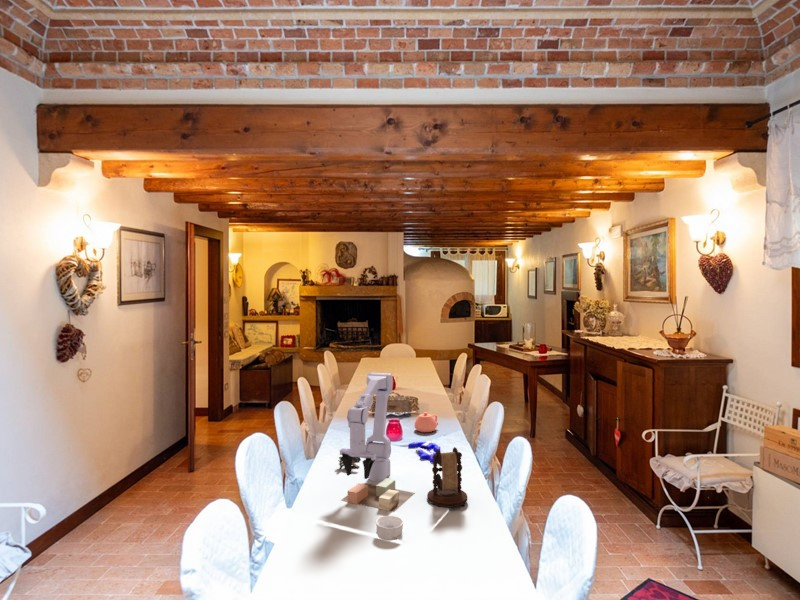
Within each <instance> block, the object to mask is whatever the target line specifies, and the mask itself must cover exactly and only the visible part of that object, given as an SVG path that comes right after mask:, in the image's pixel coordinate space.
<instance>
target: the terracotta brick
mask: <svg viewBox="0 0 800 600" xmlns="http://www.w3.org/2000/svg"><path fill="white" fill-rule="evenodd" d="M347 495H348V502H347V503H350V502H351V503H352V504H355V505H358V504H357V503H359V502H360V501H361V500H363V499H364V498H365V497H367V496H368V485H365V483H357V484H356V485H354V486H352V487H350V488H349V489H348V490H347Z"/></svg>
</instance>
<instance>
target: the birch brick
mask: <svg viewBox="0 0 800 600" xmlns="http://www.w3.org/2000/svg"><path fill="white" fill-rule="evenodd" d="M398 502H399V491H395V490H390V489H389V490H388V491H386V492H385V493H384V494H383V495H381V496H380V497H379V509H378V510H382V509H383V511H387V512H390V511H389V510H390V509H392V508H393V507H394V506H395V505H396V504H397V503H398Z"/></svg>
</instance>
